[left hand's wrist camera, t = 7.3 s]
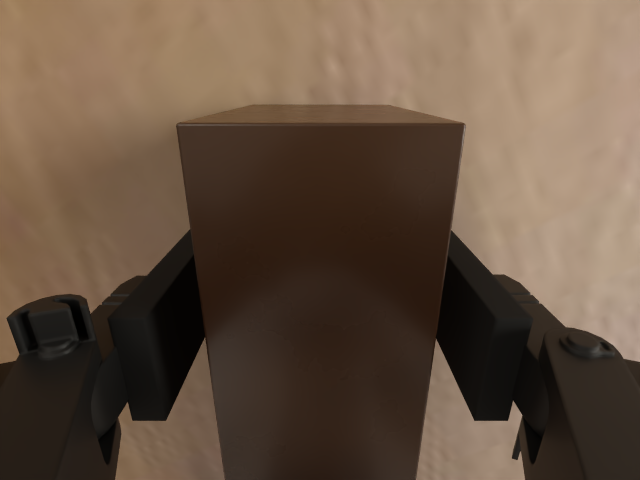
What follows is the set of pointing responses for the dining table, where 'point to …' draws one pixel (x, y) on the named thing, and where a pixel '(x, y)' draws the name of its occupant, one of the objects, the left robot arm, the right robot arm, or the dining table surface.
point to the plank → (320, 281)
